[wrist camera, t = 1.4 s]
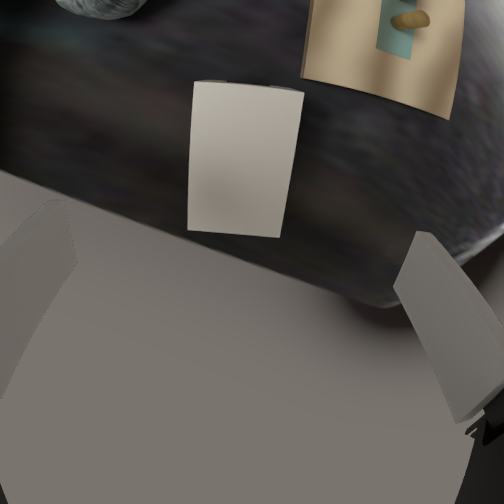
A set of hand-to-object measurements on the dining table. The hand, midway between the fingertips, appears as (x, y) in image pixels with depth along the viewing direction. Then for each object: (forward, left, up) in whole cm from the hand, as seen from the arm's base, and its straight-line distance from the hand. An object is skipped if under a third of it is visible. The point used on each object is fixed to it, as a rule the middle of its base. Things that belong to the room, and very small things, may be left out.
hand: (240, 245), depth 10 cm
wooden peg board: (+11, +16, -16) cm, 25 cm away
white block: (0, 0, -16) cm, 16 cm away
